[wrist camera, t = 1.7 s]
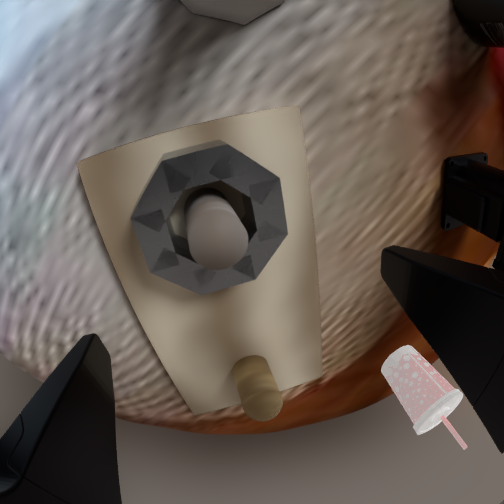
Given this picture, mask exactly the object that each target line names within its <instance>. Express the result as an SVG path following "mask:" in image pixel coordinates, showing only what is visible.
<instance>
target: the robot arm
mask: <svg viewBox="0 0 504 504" xmlns="http://www.w3.org/2000/svg"><path fill="white" fill-rule="evenodd" d="M487 163H488V156H487V154H486V153H483V152H480V153H473V154H466V155H459V156H452V157H448V158H447V159H446V161H445V185H444V202H443V214H442V225H441V226H442V229H444V230H445V231H448V230H451V229H453V228H456V227H458V226H461V225H463V224H465V225H467V226H469V227H471V228H472V229H474V230H476V231H478V232H480V233H482V234H484V235H485V236H487V237H489V238H490V239H492V240H494V241H495V242H498V243H499V244H500V245H499V248H498V252H497V255H496V258H495V259H494V262H493V265H492V266H493V267H494V268H495V269H492V268H487V267H484V266H480V265H476V264H472V263H468V262H464V261H460V260H456V259H452V258H448V257H443V256H439V255H435V254H431V253H426V252H422V251H418V250H413V249H409V248H404V247H400V246H395V245H392V246H389V247H386V248H384V249H383V250H382V254H381V275H382V278H383V279H384V281H385V282H386V284H387V285H388V287H389V289H390V290H391V292H392V293H393V295H394V296H395V298H396V299H397V301H398V303H399V304H400V306H401V307H402V309H403V310H404V312H405V313H406V314H407V316H408V317H409V318H410V320H411V321H412V322H413V324H414V325H415V326H416V327H417V329H418V330H419V331H420V333H421V334H422V335H423V337H424V338H425V339H426V341H427V342H428V343H429V345H430V346H431V347H432V349H433V350H434V351H435V353H436V354H437V356H438V357H439V358H440V360H441V361H442V363H443V364H444V365H445V367H446V368H447V370H448V371H449V372H450V374H451V375H452V376H453V378H454V379H455V381H456V383H457V384H458V385H459V387H460V388H461V390H462V391H463V393H464V394H465V396H466V397H467V399H468V400H469V402H470V403H471V405H472V406H473V408H474V410H475V411H476V413H477V415H478V416H479V418H480V419H481V421H482V423H483V424H484V426H485V427H486V429H487V431H488V432H489V434H490V436H491V438H492V439H493V441H494V443H495V444H496V446H497V448H498V449H499V451H500V452H501V453H504V171H503V170H500V169H497V168H495V167H492V166H489V165H487ZM0 504H122V501H121V494H120V485H119V475H118V465H117V450H116V432H115V400H114V390H113V380H112V369H111V358H110V355H109V353H108V351H107V349H106V348H105V346H104V345H103V343H102V341H101V340H100V338H99V337H98V335H97V334H94V333H93V334H88V335H84V336H83V337H82V338H81V339H80V340H79V341H78V342H77V344H76V345H75V346H74V347H73V348H72V349H71V351H70V352H69V353H68V354H67V355H66V356H65V358H64V359H63V360H62V361H61V362H60V364H59V365H58V366H57V367H56V368H55V370H54V371H53V372H52V373H51V375H50V376H49V377H48V378H47V379H46V381H45V382H44V383H43V384H42V386H41V387H40V388H39V390H38V391H37V392H36V393H35V395H34V396H33V397H32V398H31V400H30V401H29V402H28V404H27V405H26V406H25V407H24V409H23V410H22V411H21V414H19V415H18V417H17V418H16V419H15V421H14V422H13V423H12V425H11V426H10V427H9V429H8V430H7V431H6V433H5V434H4V435H3V436H2V437H1V439H0ZM500 504H504V501H503V502H502V503H500Z"/></svg>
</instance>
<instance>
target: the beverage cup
mask: <svg viewBox="0 0 504 504" xmlns="http://www.w3.org/2000/svg"><path fill="white" fill-rule="evenodd" d="M381 372H382V374H383V375H384V377H385V378H386V380H387V382H388V383H389V385H390V386H391V388H392V390H393V391H394V393H395V394H396V396H397V397H398V399H399V401H400V402H401V404H402V406H403V407H404V409H405V410H406V412H407V414H408V415H409V417H410V418H411V420H412V422H413V424H414V426H413V428H414V430H415V431H416V433H417V434H418V435H420V434H422V433H425V432H427V431H429V430H430V429H432V428H433V427H435V426H436V425H438V424H439V423H440V422H441V421H443V423H444V424H445V425H446V427H447V428H448V429H449V431H450V432H451V433H452V435H453V436H454V437H455V439H456V440H457V441H458V443H459V444H460V445H461V447H462V448H463V450H465V449H466V448H467V445H466V444H465V443H464V442H463V440H462V438H461V437H460V436H459V435H458V433H457V432H456V431H455V429H454V428H453V427H452V425H451V424H450V423H449V421H448V420H447V419H446V417H447V416H448V415H449V414H450V413H451V412H452V411H453V410H454V409H455V408H456V407H457V405H458V404H459V403H460V401H461V400H462V398H463V393H462V392H460V391H459V389H454V388H453V386H452V385H451V384H450V383H448V381H446V379H445V378H444V377H443V376H441V375H440V373H438V372H437V370H436V369H435V368H434V367H433V366H431V365H430V364H429V363H428V362H427V361H426V360H425V359H424V358H423V357H422V356H421V355H420V354H419V353H418V352H417V351H416V350H415V349H414V348H413V347H412V346H409V345H407V346H403V347H401V348H399V349H397V350H396V351H395V352H393V353H392V354H391V355H390V356H389V357H388V358H387V359H386V360H385V362H384V364H383V366H382V368H381Z"/></svg>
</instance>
